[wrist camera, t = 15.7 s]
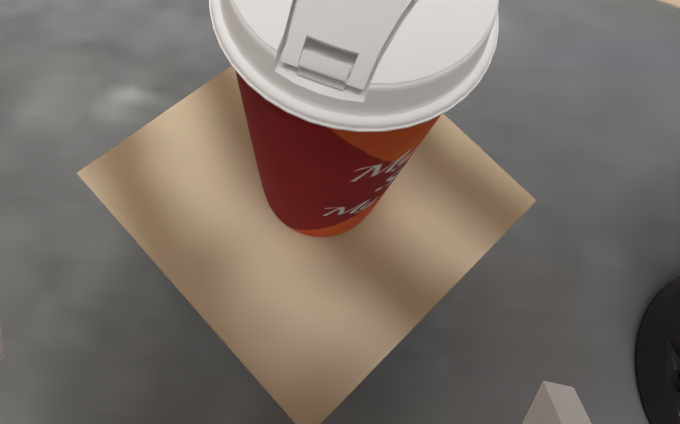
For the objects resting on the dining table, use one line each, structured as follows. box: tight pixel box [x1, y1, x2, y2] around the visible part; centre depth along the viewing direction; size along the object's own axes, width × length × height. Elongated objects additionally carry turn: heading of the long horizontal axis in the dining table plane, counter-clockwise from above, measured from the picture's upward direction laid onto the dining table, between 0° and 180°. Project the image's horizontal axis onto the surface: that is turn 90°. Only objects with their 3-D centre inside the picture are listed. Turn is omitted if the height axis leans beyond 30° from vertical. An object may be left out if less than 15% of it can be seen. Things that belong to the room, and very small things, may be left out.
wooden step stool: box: [77, 66, 536, 424], centre depth 29 cm, size 16×16×8 cm
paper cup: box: [209, 0, 499, 237], centre depth 19 cm, size 8×8×14 cm
